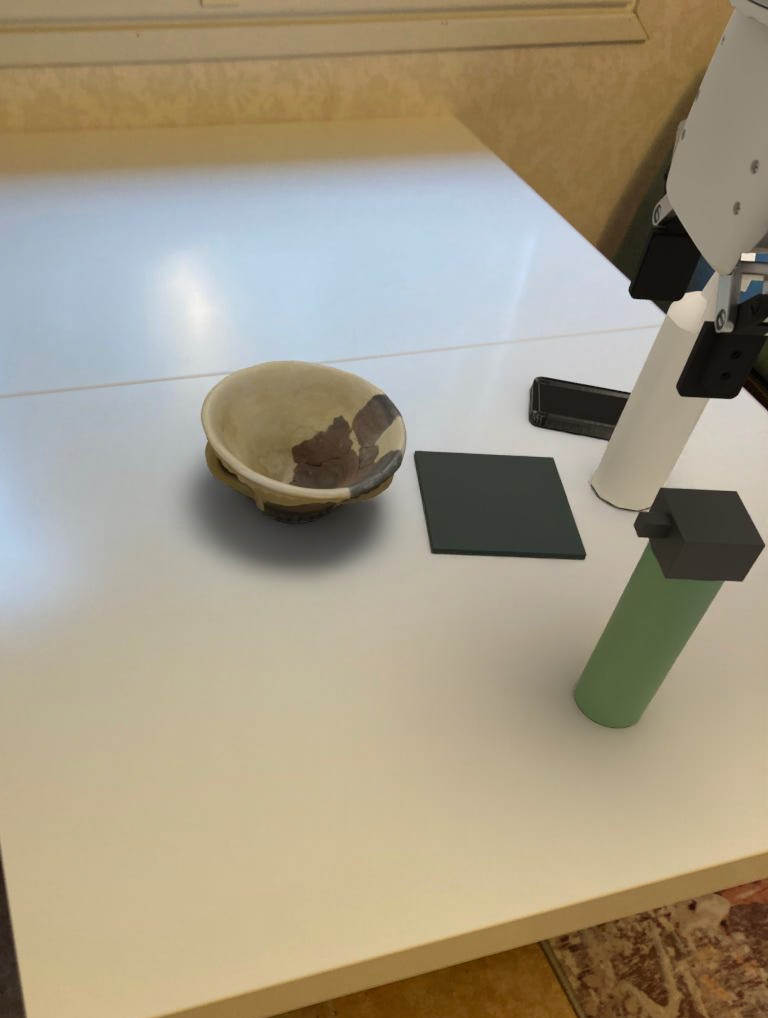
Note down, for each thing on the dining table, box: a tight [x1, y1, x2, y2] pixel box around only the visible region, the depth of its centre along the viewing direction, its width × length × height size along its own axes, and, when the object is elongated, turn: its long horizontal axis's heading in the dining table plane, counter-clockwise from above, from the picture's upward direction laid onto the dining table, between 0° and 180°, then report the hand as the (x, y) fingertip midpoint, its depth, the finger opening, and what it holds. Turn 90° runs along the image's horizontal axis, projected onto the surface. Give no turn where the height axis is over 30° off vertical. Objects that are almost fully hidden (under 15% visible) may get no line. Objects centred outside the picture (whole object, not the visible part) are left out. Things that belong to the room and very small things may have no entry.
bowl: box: [200, 360, 408, 524], centre depth 82 cm, size 18×18×10 cm
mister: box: [573, 487, 766, 729], centre depth 66 cm, size 7×5×19 cm
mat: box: [413, 450, 587, 560], centre depth 87 cm, size 14×14×1 cm
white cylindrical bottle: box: [590, 253, 757, 512], centre depth 82 cm, size 7×12×25 cm, turn 157°
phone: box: [528, 375, 631, 440], centre depth 98 cm, size 8×1×15 cm
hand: (677, 343), depth 51 cm, fingers open, 9 cm apart
